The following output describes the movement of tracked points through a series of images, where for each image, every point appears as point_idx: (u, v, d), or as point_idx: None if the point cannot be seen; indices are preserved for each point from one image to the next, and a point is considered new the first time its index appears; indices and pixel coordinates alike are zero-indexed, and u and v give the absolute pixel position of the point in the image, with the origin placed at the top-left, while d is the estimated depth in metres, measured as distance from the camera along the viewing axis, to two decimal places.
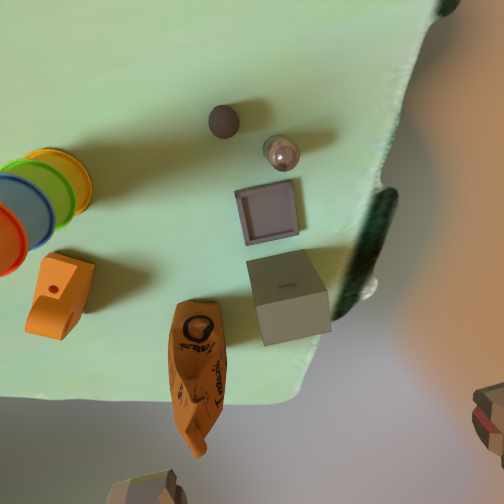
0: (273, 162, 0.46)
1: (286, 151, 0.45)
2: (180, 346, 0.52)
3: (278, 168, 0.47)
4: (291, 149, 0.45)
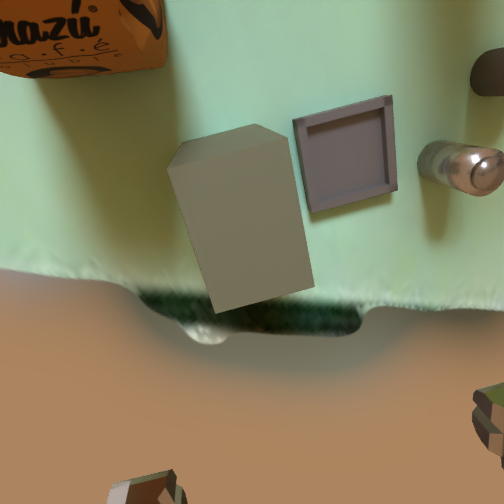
0: (480, 155, 0.29)
1: (498, 174, 0.29)
2: None
3: (470, 165, 0.29)
4: (499, 182, 0.29)
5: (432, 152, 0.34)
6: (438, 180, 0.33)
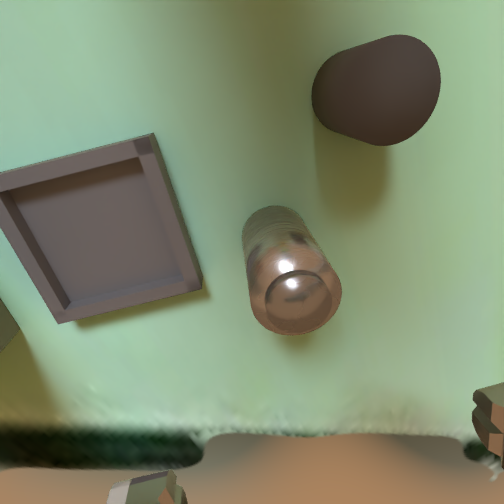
0: (278, 269, 0.14)
1: (316, 305, 0.15)
2: None
3: (260, 285, 0.15)
4: (321, 318, 0.15)
5: (249, 231, 0.19)
6: None
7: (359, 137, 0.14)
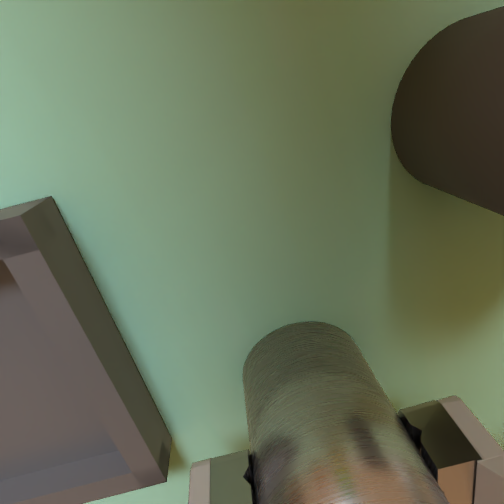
0: None
1: None
2: None
3: None
4: None
5: (259, 390, 0.09)
6: None
7: None
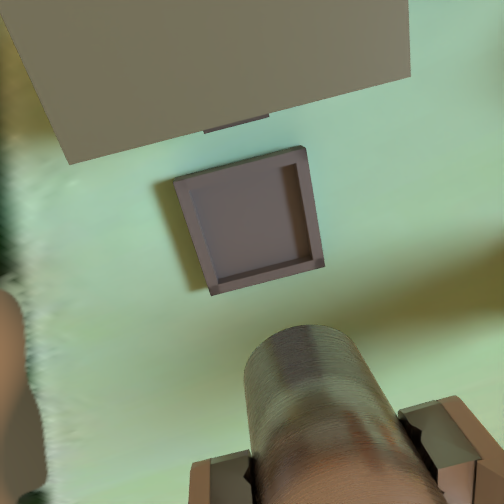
0: None
1: None
2: None
3: None
4: None
5: (260, 393, 0.09)
6: None
7: None
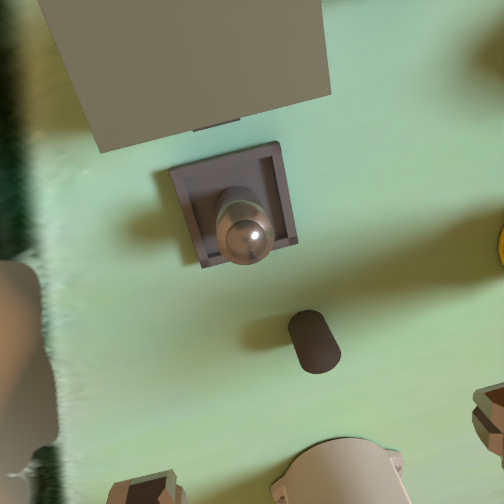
0: (232, 219, 0.23)
1: (257, 242, 0.23)
2: None
3: (222, 230, 0.23)
4: (261, 250, 0.24)
5: (218, 202, 0.28)
6: None
7: (304, 350, 0.32)
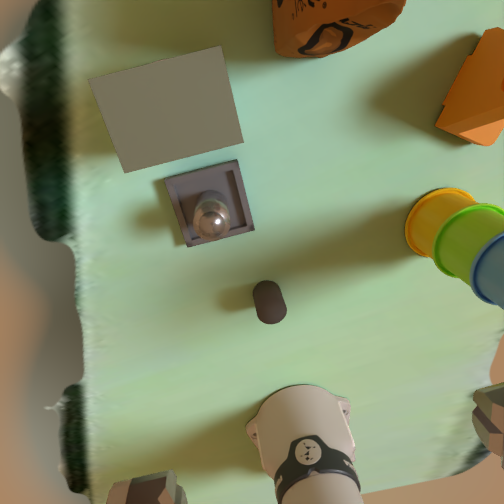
0: (203, 210, 0.37)
1: (218, 225, 0.37)
2: (368, 27, 0.28)
3: (196, 218, 0.37)
4: (221, 231, 0.37)
5: (197, 201, 0.42)
6: None
7: (259, 305, 0.45)
